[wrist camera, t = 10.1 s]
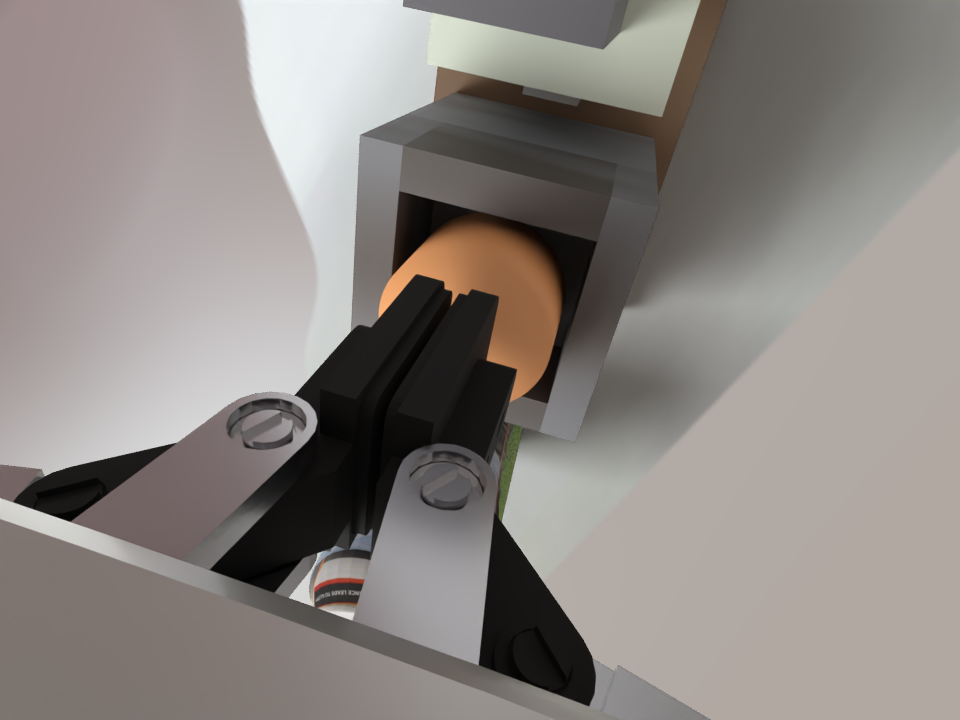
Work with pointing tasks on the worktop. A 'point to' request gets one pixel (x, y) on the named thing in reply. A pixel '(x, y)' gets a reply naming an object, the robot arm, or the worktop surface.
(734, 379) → the worktop surface
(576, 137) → the rail bench
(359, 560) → the beverage can
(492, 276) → the plunger
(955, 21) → the worktop surface
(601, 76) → the carriage
